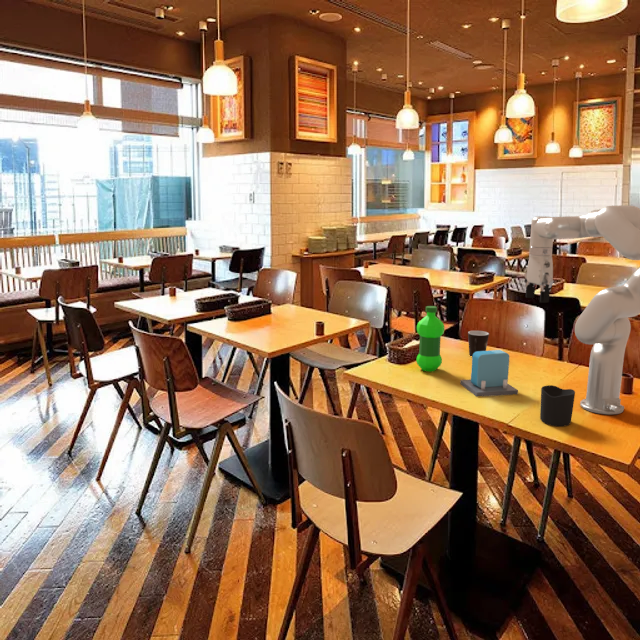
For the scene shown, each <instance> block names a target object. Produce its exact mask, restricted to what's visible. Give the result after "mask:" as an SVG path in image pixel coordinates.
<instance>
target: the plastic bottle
mask: <svg viewBox="0 0 640 640" xmlns="http://www.w3.org/2000/svg"><path fill="white" fill-rule="evenodd" d="M425 312H426V315H425V316H424V317H423V318H422V319H421V320H419V321H418V322H417V325H416V333H417V334H418V335H419V342H418V343H419V344H418V345H419V347H418V348H419V349H418V350H419V351H418V354H417V356H416V360H415V361H416V364H417V366H418V367H419V368H420V369H421V370H422V371H424V372H430V373H431V372H435V371H436V370H437V369H438V368H439V367H441V365H442V364H443V363H442V362H443V358H442V356H441V337H442V335H444V332H445V324H444V322H443V321H442V320H440V319H439V318H438V317H437V316H436V313H438V307H437V306H436V305H427V306H425Z"/></svg>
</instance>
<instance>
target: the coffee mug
mask: <svg viewBox="0 0 640 640" xmlns="http://www.w3.org/2000/svg"><path fill="white" fill-rule="evenodd" d="M467 336H468V337H467V338H468V339H467V340H468V355H470V356H473V353H474V352H477V351H487V347H488V341H489V336H490V333H489V332H487V331H483V330H470V331H468V332H467ZM470 356H469V357H470Z"/></svg>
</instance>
